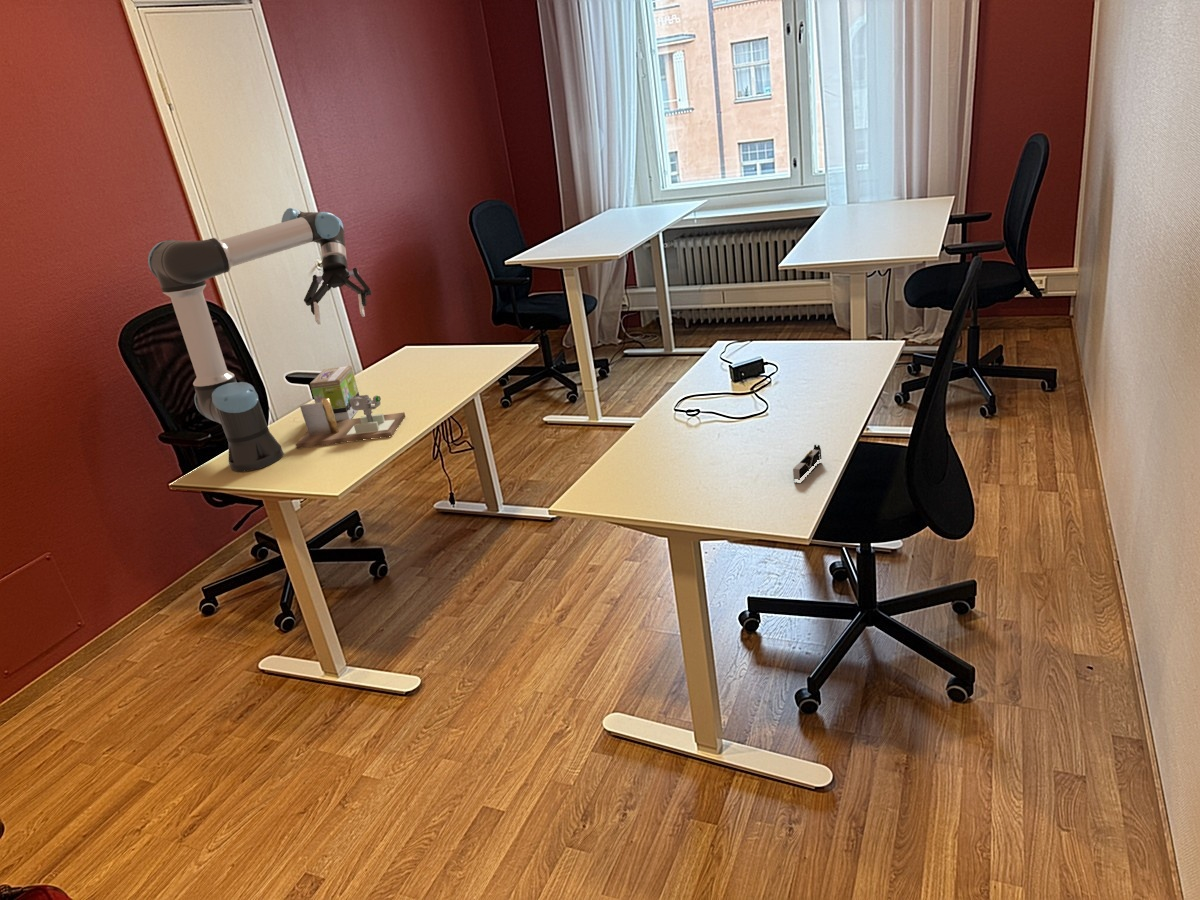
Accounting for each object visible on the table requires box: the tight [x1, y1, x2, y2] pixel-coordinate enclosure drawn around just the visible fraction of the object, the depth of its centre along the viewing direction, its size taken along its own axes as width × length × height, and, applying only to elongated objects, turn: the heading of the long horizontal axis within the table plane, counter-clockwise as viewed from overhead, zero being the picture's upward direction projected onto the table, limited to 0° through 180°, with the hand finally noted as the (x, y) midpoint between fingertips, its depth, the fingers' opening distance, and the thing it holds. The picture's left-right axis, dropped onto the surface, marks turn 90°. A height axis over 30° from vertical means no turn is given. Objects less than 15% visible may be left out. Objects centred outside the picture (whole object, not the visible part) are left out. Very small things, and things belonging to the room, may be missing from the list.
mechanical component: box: [348, 394, 381, 422], centre depth 246 cm, size 3×10×10 cm, turn 76°
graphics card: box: [792, 444, 822, 480], centre depth 182 cm, size 12×3×5 cm, turn 142°
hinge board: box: [295, 398, 406, 449], centre depth 248 cm, size 30×16×12 cm, turn 88°
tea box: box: [309, 365, 360, 421], centre depth 264 cm, size 15×10×15 cm, turn 0°
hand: (340, 318), depth 246 cm, fingers open, 13 cm apart
